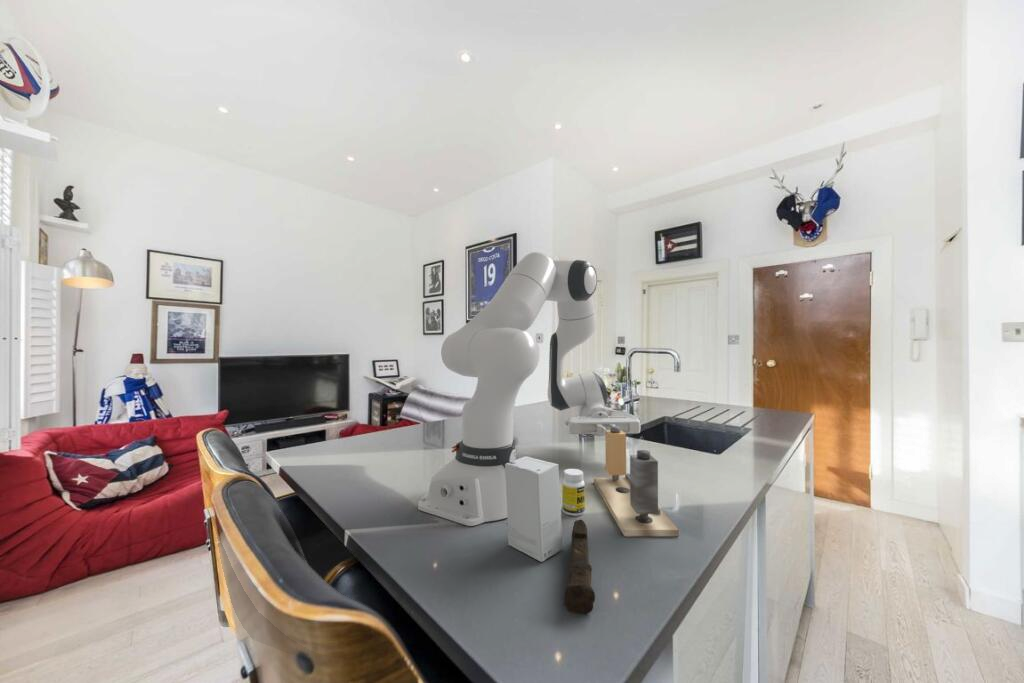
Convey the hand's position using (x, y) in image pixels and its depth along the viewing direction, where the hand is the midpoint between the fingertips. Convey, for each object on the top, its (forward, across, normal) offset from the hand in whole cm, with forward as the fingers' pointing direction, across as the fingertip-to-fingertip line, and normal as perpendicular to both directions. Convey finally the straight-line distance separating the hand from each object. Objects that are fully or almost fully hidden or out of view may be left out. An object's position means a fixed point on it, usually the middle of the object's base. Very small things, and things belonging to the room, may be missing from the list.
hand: (609, 432), depth 99 cm
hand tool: (+40, -16, +11) cm, 45 cm away
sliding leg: (+6, 0, +10) cm, 12 cm away
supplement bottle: (+20, -13, +12) cm, 27 cm away
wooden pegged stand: (+18, 0, +12) cm, 21 cm away
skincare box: (+34, -22, +11) cm, 42 cm away
